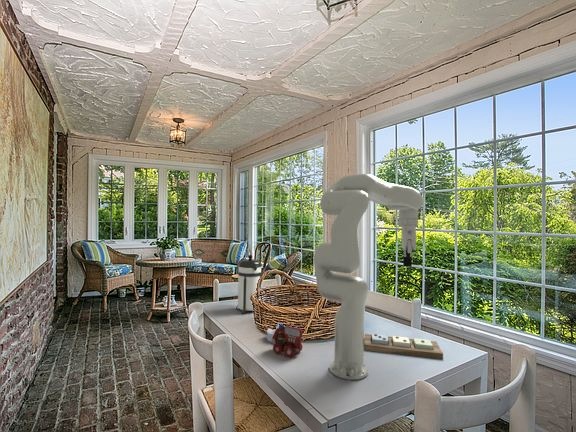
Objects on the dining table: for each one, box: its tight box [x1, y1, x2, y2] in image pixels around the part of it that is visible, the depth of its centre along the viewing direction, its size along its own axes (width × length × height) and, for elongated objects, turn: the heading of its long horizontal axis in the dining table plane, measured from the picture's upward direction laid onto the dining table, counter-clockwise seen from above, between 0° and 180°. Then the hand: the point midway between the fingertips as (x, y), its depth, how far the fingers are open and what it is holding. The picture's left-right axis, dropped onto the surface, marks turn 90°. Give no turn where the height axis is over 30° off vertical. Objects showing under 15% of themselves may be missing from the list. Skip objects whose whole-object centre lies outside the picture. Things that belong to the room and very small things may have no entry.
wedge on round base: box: [266, 323, 285, 343], centre depth 132 cm, size 9×7×13 cm
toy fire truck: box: [271, 324, 303, 359], centre depth 119 cm, size 7×12×10 cm, turn 58°
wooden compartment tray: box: [364, 333, 444, 360], centre depth 126 cm, size 12×28×2 cm, turn 76°
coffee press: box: [235, 254, 263, 315], centre depth 173 cm, size 17×16×30 cm
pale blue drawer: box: [371, 333, 389, 345], centre depth 128 cm, size 6×6×3 cm
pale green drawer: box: [412, 337, 433, 350], centre depth 124 cm, size 6×6×3 cm
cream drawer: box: [391, 335, 410, 347], centre depth 126 cm, size 6×6×3 cm
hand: (407, 266), depth 135 cm, fingers closed
